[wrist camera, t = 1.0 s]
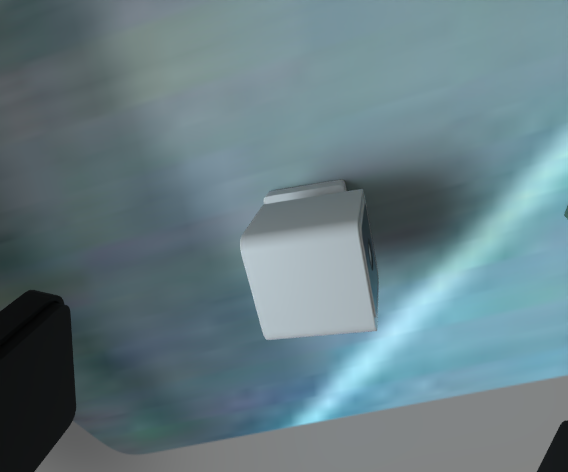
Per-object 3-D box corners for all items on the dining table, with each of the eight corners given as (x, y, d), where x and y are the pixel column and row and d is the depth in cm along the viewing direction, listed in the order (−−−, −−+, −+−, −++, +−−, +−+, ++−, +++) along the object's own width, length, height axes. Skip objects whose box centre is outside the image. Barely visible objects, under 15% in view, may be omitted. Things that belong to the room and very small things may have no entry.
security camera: (380, 255, 35) (378, 336, 26) (284, 267, 37) (251, 346, 27) (366, 169, 33) (358, 224, 24) (265, 185, 34) (221, 243, 25)
